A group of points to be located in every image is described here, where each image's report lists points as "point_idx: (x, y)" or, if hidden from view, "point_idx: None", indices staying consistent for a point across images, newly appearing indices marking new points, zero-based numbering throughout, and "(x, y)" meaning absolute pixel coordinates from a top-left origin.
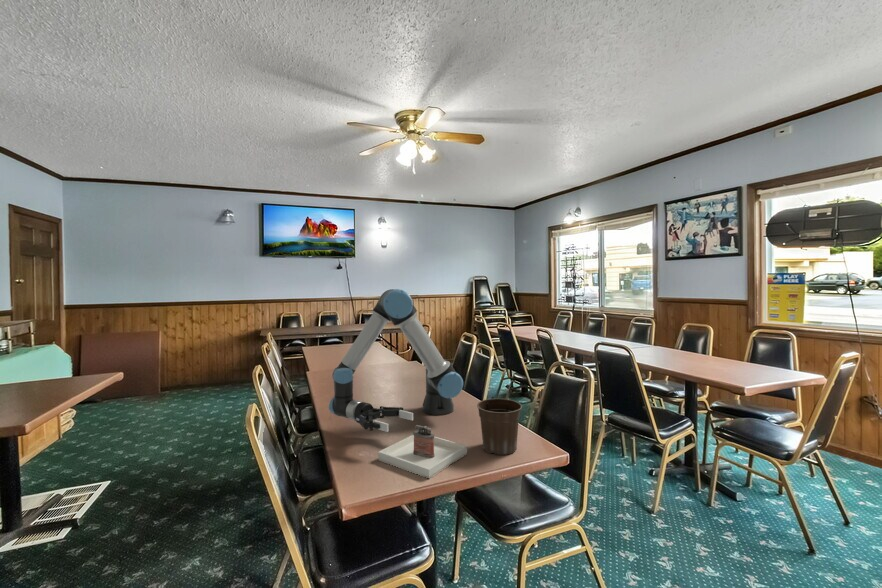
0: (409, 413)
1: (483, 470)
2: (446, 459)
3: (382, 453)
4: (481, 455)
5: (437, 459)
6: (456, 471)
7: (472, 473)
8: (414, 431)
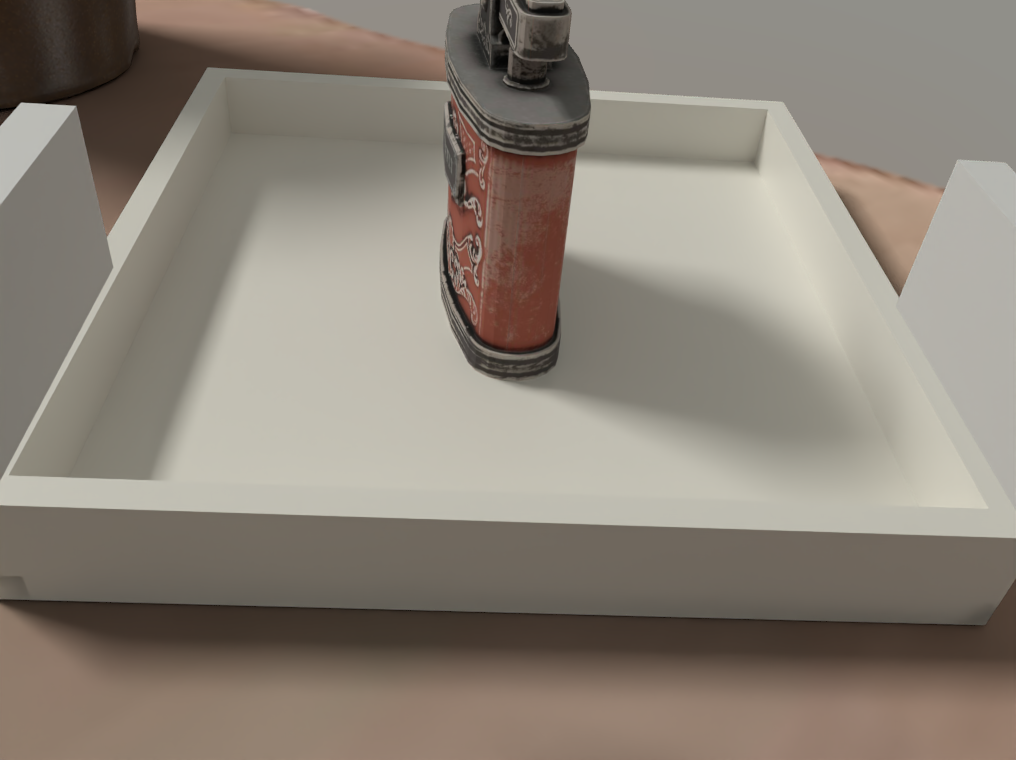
0: (47, 160)
1: (414, 53)
2: None
3: None
4: (192, 92)
5: None
6: None
7: None
8: (537, 121)
